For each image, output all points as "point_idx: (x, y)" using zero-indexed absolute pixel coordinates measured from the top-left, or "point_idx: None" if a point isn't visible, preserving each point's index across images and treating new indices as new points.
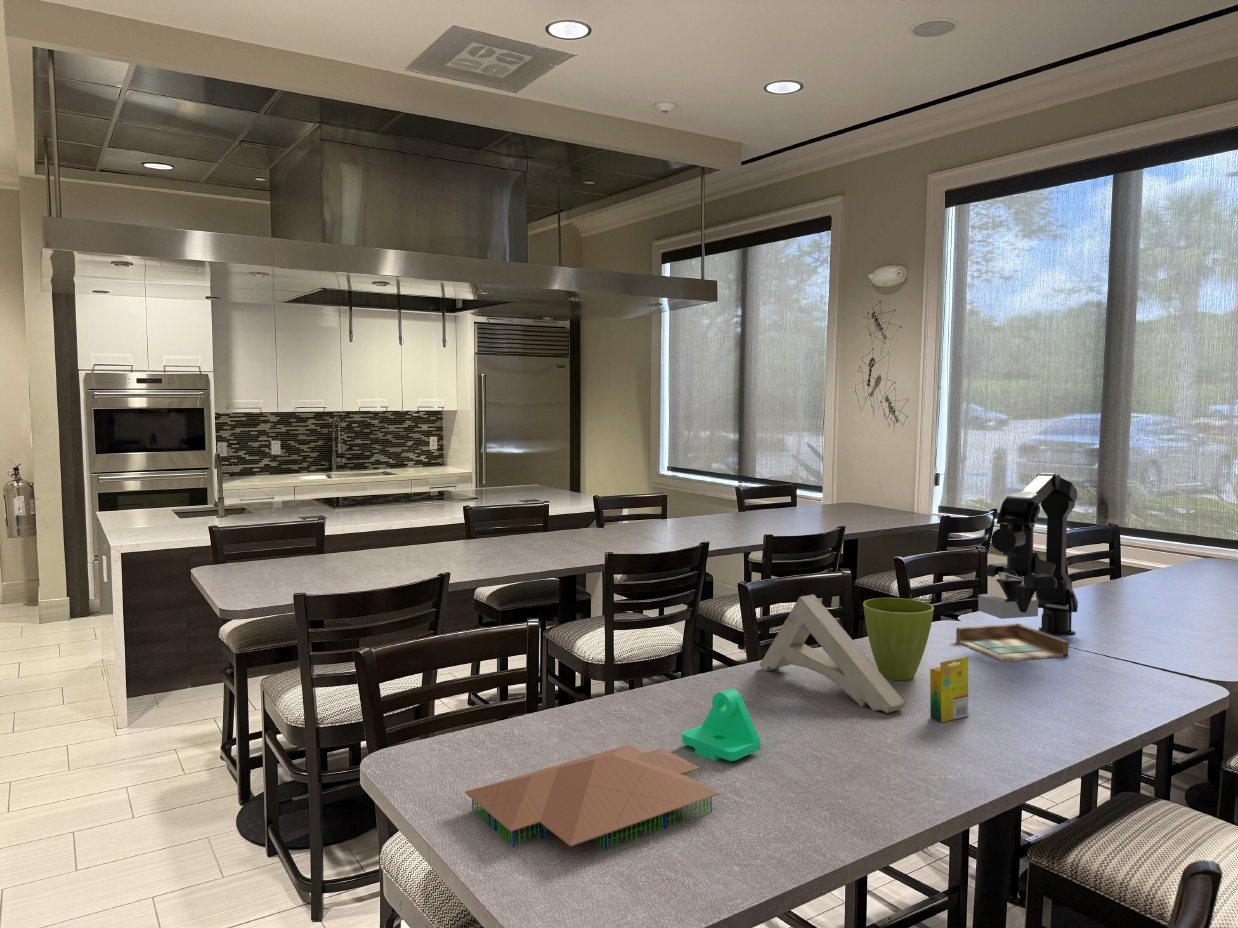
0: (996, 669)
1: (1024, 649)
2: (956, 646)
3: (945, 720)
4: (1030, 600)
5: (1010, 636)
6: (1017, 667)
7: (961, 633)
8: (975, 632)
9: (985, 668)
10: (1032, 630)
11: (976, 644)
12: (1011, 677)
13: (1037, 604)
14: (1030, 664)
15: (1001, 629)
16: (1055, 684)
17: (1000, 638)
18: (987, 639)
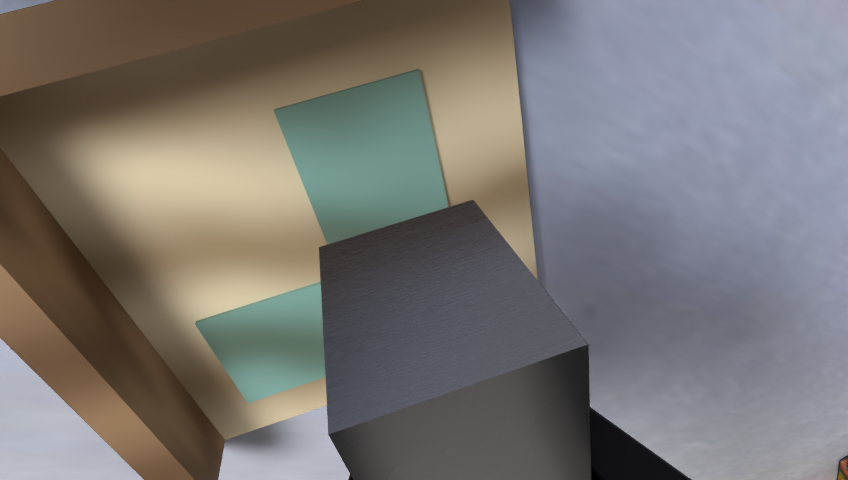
0: (624, 356)
1: (404, 190)
2: (295, 441)
3: None
4: (681, 478)
5: (10, 165)
6: (623, 285)
7: (213, 469)
8: (168, 414)
9: (605, 384)
10: (119, 56)
11: (292, 385)
12: (712, 331)
13: (541, 295)
14: (600, 223)
15: (34, 268)
16: (829, 218)
17: (93, 244)
18: (153, 322)
